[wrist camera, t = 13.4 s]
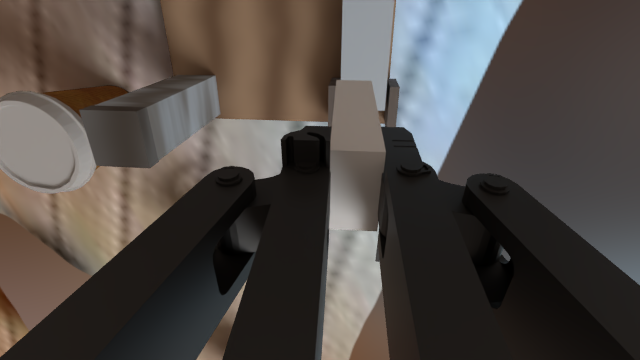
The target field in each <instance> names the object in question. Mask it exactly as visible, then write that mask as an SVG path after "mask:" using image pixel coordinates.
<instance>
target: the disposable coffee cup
mask: <svg viewBox="0 0 640 360" xmlns="http://www.w3.org/2000/svg"><path fill="white" fill-rule="evenodd" d="M127 93H128V92H127V91H125V90H124V89H122V88H119V87H116V86H101V87H92V88H82V89H73V90H64V91H54V92H46V93H36V92H31V91H16V92H12V93H8V94H6V95H4V96H2V97H1V98H0V169H1V170H2V171H3V172H4V173H6V174H7V175H8V176H9V177H10V178H11V179H13V180H14V181H16V182H17V183H19V184H21V185H23V186H25V187H27V188H29V189H31V190H34V191H38V192H41V193H59V192H67V191H73V190H76V189H78V188H80V187H82V186H84V185H85V184H86V183H87V182H88V181H89V180H90V178H91V177H92V175H93V173H94V171H95V170H96V169H97V168H98V167H100V166H96V163H95V160H94V157H93V154H92V150H91V147H90V144H89V141H88V137H87V134H86V131H85V128H84V124H83V121H82V118H81V115H80V111H79V110H80V109H83V108H85V107H88V106H91V105H97V104H99V103H102V102H105V101H108V100H110V99H113V98H116V97H119V96H121V95H124V94H127Z"/></svg>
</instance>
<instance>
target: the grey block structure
mask: <svg viewBox="0 0 640 360" xmlns="http://www.w3.org/2000/svg"><path fill="white" fill-rule="evenodd" d="M160 2H161V8H162V13H163V19H164V24H165V30H166V35H167V41H168V47H169V52H170V58H171V63H172V69H173V74H174V76H173V77H171V78H168V79H165V80H162V81H160V82H157V83H154V84H151V85H149V86H146V87H143V88H141V89H138V90H135V91H132V92H130V93H127V94H124V95H121V96H119V97H116V98H113V99H110V100H108V101H105V102H102V103H99V104H97V105H91V106H88V107H85V108H83V109H80V110H79V111H80V115H81V118H82V121H83V124H84V128H85V131H86V134H87V137H88V141H89V144H90V147H91V150H92V154H93V157H94V160H95V163H96V166H113V167H135V168H151V167H152V166H154V165H155V164H156V163H158V162H159V160H160V159H161V158H163V157H164V156H165V155H167V154H168V153H169V152H171V151H172V150H173V149H175V148H176V147H177V146H179V145H180V144H181V143H183V142H184V141H185V140H187V139H188V138H189V137H190V136H192V135H193V134H194V133H196V132H197V131H198V130H200V129H201V128H202V127H204V126H205V125H206V124H208V123H209V122H210V121H212V120H213V119H214V118H222V119H255V120H287V121H319V122H328V127H332V120H333V109H334V99H335V88H336V80H341V49H342V6H343V0H160ZM395 7H396V0H394V10H393V21H392V33H391V44H390V56H389V67H388V79H387V90H386V102H385V111H378V115H379V120H380V123H383V124H385V127H396V118H397V108H398V98H399V88H400V87H399V85H398V83H397V81H396V79H389V77H390V65H391V53H392V42H393V30H394V18H395Z"/></svg>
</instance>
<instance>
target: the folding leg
mask: <svg viewBox="0 0 640 360" xmlns="http://www.w3.org/2000/svg"><path fill="white" fill-rule="evenodd" d="M393 10H394V0H343V6H342V49H341V80H361V81H372V85H373V90H374V95H375V100H376V105H377V110H378V111H385V102H386V90H387V79H388V67H389V56H390V44H391V33H392V21H393Z"/></svg>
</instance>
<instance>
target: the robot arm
mask: <svg viewBox="0 0 640 360" xmlns="http://www.w3.org/2000/svg"><path fill="white" fill-rule="evenodd" d="M281 149H282V164H283V167H282V170H281V173H280V174H279V175H276V176H274V177H269V178H264V179H258V180H255V178H254V174H253V172H251V171H250V170H249V169H246V168H243V167H235V166H229V167H223V168H221V169H218V170H215V171H213V172H211V173H210V174H208V175H207V176H206V177H204V178H203V179H202V180H201V181H200V182H199V183H198V184H196V185H195V186H194V187H193V188H192V189H191V190H190V191H189V192H187V193H186V194H185V195H184V196H183V197H182V198H181V199H179V200H178V201H177V202H176V203H175V204H174V205H173V206H172V207H170V208H169V209H168V210H167V211H166V212H165V213H164V214H162V215H161V216H160V217H159V218H158V219H157V220H156V221H154V222H153V223H152V224H151V225H150V226H149V227H148V228H147V229H145V230H144V231H143V232H142V233H141V234H140V235H139V236H137V237H136V238H135V239H134V240H133V241H132V242H131V243H130V244H128V245H127V246H126V247H125V248H124V249H123V250H122V251H120V252H119V253H118V254H117V255H116V256H115V257H114V258H112V259H111V260H110V261H109V262H108V263H107V264H106V265H105V266H103V267H102V268H101V269H100V270H99V271H98V272H97V273H95V274H94V275H93V276H92V277H91V278H90V279H89V280H88V281H86V282H85V283H84V284H83V285H82V286H81V287H80V288H78V289H77V290H76V291H75V292H74V293H73V294H72V295H71V296H69V297H68V298H67V299H66V300H65V301H64V302H63V303H61V304H60V305H59V306H58V307H57V308H56V309H55V310H53V311H52V312H51V313H50V314H49V315H48V316H47V317H46V318H45V319H43V320H42V321H41V322H40V323H39V324H38V325H36V326H35V327H34V328H33V329H32V330H31V331H30V332H29V333H27V334H26V335H25V336H24V337H23V338H22V339H21V340H19V341H18V342H17V343H16V344H15V345H14V346H13V347H11V348H10V349H9V350H8V351H7V352H6V353H5V354H4V355H2V356H1V357H0V360H196V359H197V357H198V356H199V354H200V352H201V351H202V349H203V348H204V346H205V345H206V343H207V341H208V340H209V338H210V337H211V335H212V334H213V332H214V330H215V329H216V327H217V326H218V324H219V323H220V321H221V319H222V318H223V316H224V315H225V313H226V312H227V310H228V308H229V307H230V305H231V304H232V302H233V301H234V299H235V297H236V296H237V294H238V293H239V291H240V290H241V288H242V286H243V285H244V283H245V282H246V280H247V282H246V286H245V289H244V292H243V295H242V298H241V302H240V305H239V308H238V311H237V315H236V318H235V321H234V324H233V327H232V331H231V334H230V337H229V340H228V343H227V347H226V350H225V353H224V356H223V359H222V360H321V355H322V339H323V323H324V308H325V292H326V276H327V260H328V245H329V229H339V230H362V231H377V227H378V221H379V236H378V244H377V253H376V261H378V262H379V260H380V269H381V279H382V289H383V298H384V307H385V318H386V328H387V337H388V346H389V357H390V360H640V285H638V284H637V283H636V282H635V281H634V280H633V279H631V278H630V277H629V276H628V275H626V274H625V273H624V272H623V271H622V270H620V269H619V268H618V267H617V266H616V265H614V264H613V263H612V262H611V261H609V260H608V259H607V258H606V257H605V256H604V255H602V254H601V253H600V252H599V251H598V250H596V249H595V248H594V247H593V246H591V245H590V244H589V243H588V242H587V241H586V240H584V239H583V238H582V237H581V236H579V235H578V234H577V233H576V232H575V231H573V230H572V229H571V228H570V227H569V226H567V225H566V224H565V223H564V222H563V221H561V220H560V219H559V218H558V217H557V216H555V215H554V214H553V213H552V212H550V211H549V210H548V209H547V208H546V207H544V206H543V205H542V204H541V203H539V202H538V201H537V200H536V199H535V198H533V197H532V196H531V195H530V194H529V193H528V192H526V191H525V190H524V189H523V188H522V187H520V186H519V185H518V184H516V183H515V182H513V181H511V180H510V179H507V178H505V177H502V176H501V175H497V174H495V175H494V174H490V173H488V174H476V175H472V176H471V177H469V178H468V179H467V183H466V186H460V185H455V184H450V183H447V182H443V181H441V180H439V179H438V177H437V174H436V172H435V170H434V169H433V168H432V167H431V166H430V165H428V164H426V163H424V162H422V160H421V157H420V155H419V152H418V149H417V148H416V144H415V142H414V138H413V136H412V133H410V132H409V131H408V130H406V129H405V128H404V127H381V125H380V120H379V115H378V110H377V105H376V100H375V95H374V90H373V85H372V81H361V80H336V88H335V99H334V109H333V120H332V127H328V126H305V127H304V128H303V129H301V130H300V131H295V132H290V133H288V134H286V135H284V136H283V138H282V139H281ZM503 248H504V249H505V250H506V251H507V253H508V254H509V256H510V257H511V259H510V261H509V262H508V261H507V260H506V259H505V258H504V257H503V255H502V254H501V253H502V251H503Z"/></svg>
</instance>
